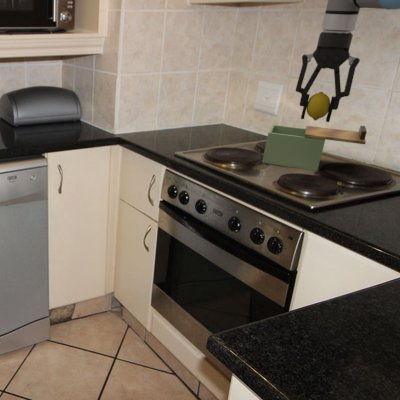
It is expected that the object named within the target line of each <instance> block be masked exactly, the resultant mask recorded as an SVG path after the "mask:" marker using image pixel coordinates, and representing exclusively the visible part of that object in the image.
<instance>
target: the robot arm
mask: <svg viewBox="0 0 400 400" xmlns="http://www.w3.org/2000/svg"><path fill="white" fill-rule="evenodd" d="M361 9H376V10H377V9H379V10H400V0H327V3H326V8H325V11H324V15H323V19H322V23H321V27H320V29H321V30H322V32H320V33H319V36H318V41H317V44H316V48H315V50H314V51H313V52H312V53H308V54H306V53H305V54H303V55H302V56H301V60H302V61H301V62H302V64H301V68H300V71H299V76H298V80H297V82H296V86H295V92H297V93H299V94H301V96H300V100H299V107H302V112H301V117H300V119H301V120H305V117H306V116H305V115H306V113H307V104H308V101H309V99H310V93H308V92H310V89H311V87H312V86H313V84H314V82H315V80H316V79H317V77H318V75H319V73H320V72H321V71H322V69H324V70H325V69H329V70H333V77H334V91H335V96H331V99H330V108H329V111H328V113H327V114H326V118H325V122H326V123H330V120H331V116H332V114H333V110H335V111H336V110H338V108H339V105H340V101H341V99H342V98H347V97H349V96H350V93H351V89H352V85H353V80H354V76H355V72H356V68H357V66H359V63H360V61H361V59H360V58H359V57H355V56H352V55H351V54H350V48H351V45H352V40H353V36H354V35H353V33H352V32H354V31H355V28H356V25H357V22H358V18H359V13H360V10H361ZM312 59H313V60H314V61H315V63H316V67H315V68H314V70H313V72H312V74H311V76H310V77H309V79H308V80H307V83H306V84H305V85H304V88H303V87H302V86H303V83H304V79H305V75H306V71H307V68H308V63H310V62H311V61H312ZM346 61H348V65H349V68H348V71H347V76H346V81H345V85H344V90H343V91H342V87H341V73H340V72H341V71H340V67H341V66H342V65H343V64H345V62H346Z"/></svg>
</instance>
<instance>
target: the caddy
mask: <svg viewBox="0 0 400 400" xmlns="http://www.w3.org/2000/svg"><path fill="white" fill-rule="evenodd" d="M305 131H306V128H303V127H296V126H286V125H280V124H279V125H278V124H271V126H270V129H269V130H268V133H267V136H266V142H265V147H264V152H263V156H262V162H261V163H262V164H268V165H275V166H281V167H287V168H294V169H295V168H297V169H305V170H312V171H319V166H320V162H321V158H322V155H323V151H324V146H325V144H326V143H325V142H326V139H319V138H311V137H304V136H305Z"/></svg>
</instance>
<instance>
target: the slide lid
mask: <svg viewBox="0 0 400 400" xmlns="http://www.w3.org/2000/svg"><path fill="white" fill-rule="evenodd" d="M305 129H306V131H305V136H304V137H311V138H319V139H325V141H326V140H328V141H335V142H343V143H349V144H359V145H366V142H367V141H366V136H367V127H366V126H365V125H359V129H358V131H354V130H346V129H339V128H331V127H330V128H329V127H323V126H322V127H321V126H313V125H306V126H305Z"/></svg>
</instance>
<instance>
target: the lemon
mask: <svg viewBox="0 0 400 400" xmlns="http://www.w3.org/2000/svg"><path fill="white" fill-rule="evenodd" d="M330 103H331V99H330V97H329V95H327V94H326V93H324V92H323V91H319V92H318V93H317V92H316V93H314V94H313V95H311V96H310V97H309V100H308V104H307V108H306V114H307V115H308V116H309V117H310V118H312V119H313V121H315V122H316V121H318V120H320V119H322V118H324V117H325V116H327V114H328V111H329V108H330Z"/></svg>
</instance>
